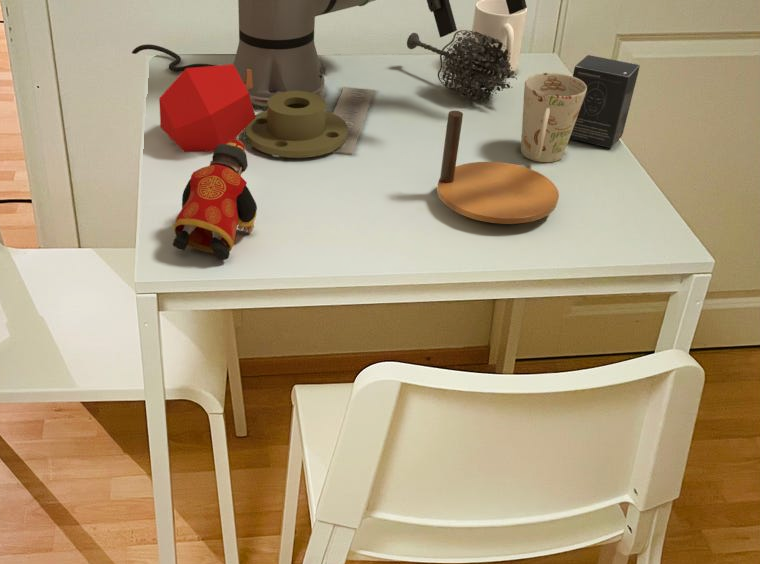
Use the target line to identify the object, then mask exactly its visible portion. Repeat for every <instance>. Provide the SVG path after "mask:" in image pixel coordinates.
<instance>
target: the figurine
mask: <svg viewBox="0 0 760 564" xmlns="http://www.w3.org/2000/svg"><path fill="white" fill-rule="evenodd" d="M211 158H212V160H210V162H209V165H207V166H203V167H201V168H199V169H196V170H195V171H193V172H192V174H191V175H190V179H189V180H188V182H187V183H186V186H185V188H184V189H183V192H182V198H181V210H180V211H179V213H178V214H177V216H176V219H175V221H174V223H173V229H174V233H175V237H174V239H173V242H172V246H173V247H174V248H176V249H177V250H179V251H185V250H186V249H187V247H188V246H189V247H191V248H192V249H196V250H199V251H201V252H205V253H210V254H211V253H212V254H214V255H215V256H216V258H218V259H221V260H228V259H229V256H230V251H232V250H233V248H234V247H233V246H234V244H235V241H236V235H237V229H239V230H242V231H244V232H247V233H248V234H251V233H252V232H253V230H254V228H255V219H256V217H257V210H258V205H257V203H256V200H255V199H254V196H253V195H252V192H251V191H250V189H249V187H248V186H247V184H248V183H247V181H246V180H245V178H243V176H242V174H243V173H244V172H246V170H247V169H248V166H249V165H248V157H247V153H246V146H245V144H244V143H243V142H242V141H241V140H239V139H236V138H235V139H231V140H229V141H228V142H227V144H220V145H218V146H216V148H215V150H214V151H213V154H212V157H211Z"/></svg>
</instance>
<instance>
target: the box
mask: <svg viewBox="0 0 760 564" xmlns="http://www.w3.org/2000/svg"><path fill="white" fill-rule="evenodd" d="M640 67H641V66H640V64H638V63H637V64H636V63H631V62H627V61H621V60H617V59H612V58H607V57H606V58H605V57H602V56H596V55H591V54H587V55H586V56H585V57H584V58H582V59H581V60H580V61H579V62H578V63H576V65H575V66H574V69H573V72H572V73H573V74H572V76H573V77H575V78H578V79H580V80H581V81H583V82H584V83H585V84H586V86H587V91H586V94H585V97H584V100H583V103H582V105H581V108H580V111H579V114H578V116H577V119H576V122H575V125H574V127H573V130H572V133H571V136H570V138H569V140H574V141H579V142H582V143H587V144H591V145H596V146H600V147H605V148H609V149H612V148H613V147H614V146H615V145H616V144H617V142H618V141H619V140H620V139H621V138H622V137H623V134H624V132H625V131H624V130H625V126H626V123H627V119H628V115H629V111H630V107H631V103H632V100H633V99H632V98H633V95H634V92H635V91H634V90H635V87H636V83H637V79H638V75H639V71H640Z"/></svg>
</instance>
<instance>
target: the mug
mask: <svg viewBox="0 0 760 564" xmlns="http://www.w3.org/2000/svg"><path fill="white" fill-rule="evenodd" d="M586 91H587V86H586V84H585V83H584V82H583V81H581V80H580V79H578V78H575V77H573V75H570V74H564V73H558V72H541V73H535V74H533V75H529V76H528V77H527V78H526V79H525V82H524V88H523V103H522V120H521V121H522V124H521V139H520V140H521V141H520V153H521V154H522V156H523V157H525V158H527V159H529V160H531V161H534V162H538V163H553V162H554V163H555V162H557V161H560V160H561V159H563V157H564V155H565V151H566V150H567V146H568V143H569V141H570V136H571V133H572V130H573V127H574V125H575V122H576V119H577V116H578V114H579V111H580V108H581V105H582V103H583V100H584V97H585V94H586Z"/></svg>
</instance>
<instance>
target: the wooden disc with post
mask: <svg viewBox="0 0 760 564" xmlns="http://www.w3.org/2000/svg"><path fill="white" fill-rule="evenodd" d="M463 116H464V113H463V111H460V110H450V111H448V114H447V122H446V130H445V138H444V145H443V151H442V152H443V153H442V160H441V167H440V168H441V169H440V176H439V179H438V182H437V188H436V189H437V196H438V198H439V200H440V201H441V202H442V203H443V204H444V205H445V206H447V208H448V209H450V210H451V211H453V212H455V213H457V214H459V215H461V216H464V217H466V218H469V219H473V220H475V221H479V220H480V221H479V222H483V221H484V222H483V223H487V222H491V223H490V224H494V223H500V224H499V225H514V224H515V225H516V224H517V225H518V224H524V223H525V224H526V223H531V222H534V221H537V220H540V219H543V218H545V217H547V216H548V215H550V214H551V213H553V212H554V211H555V209H556V208H557V205H558V204H559V203H558V202H559V198H560V197H559V196H560V194H559V190H558V188H557V186H556V185H555V183H554V182H553V181H552V180H551V179H550V178H549V177H548V176H546V175H544V174H542V173H540V172H538V171H536V170H534V169H531V168H528V167H525V166H522V165H518V164H514V163H510V162H509V163H508V162H501V161H475V162H467V163H463V164H459V165H457V159H458V153H459V144H460V138H461V131H462V124H463Z"/></svg>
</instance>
